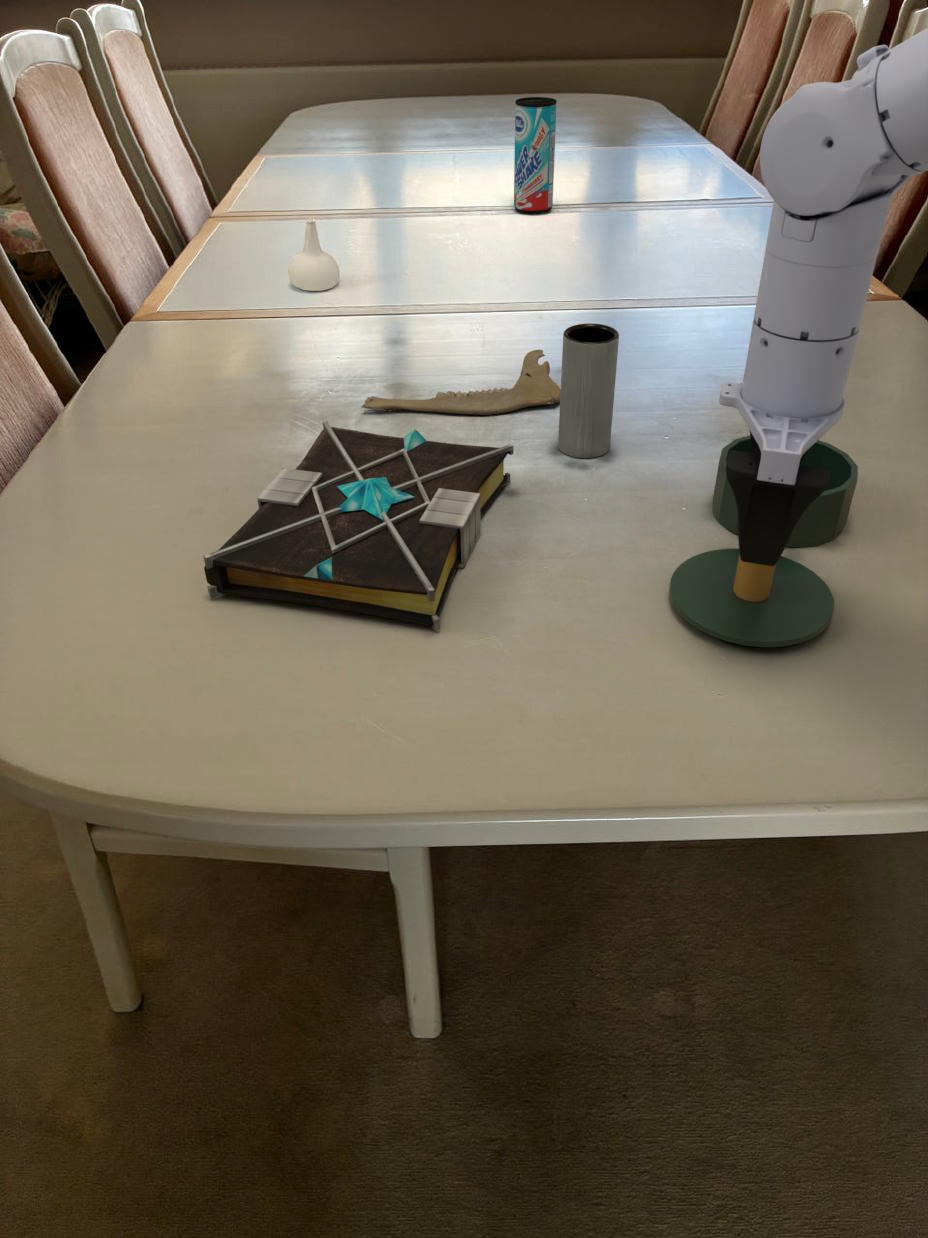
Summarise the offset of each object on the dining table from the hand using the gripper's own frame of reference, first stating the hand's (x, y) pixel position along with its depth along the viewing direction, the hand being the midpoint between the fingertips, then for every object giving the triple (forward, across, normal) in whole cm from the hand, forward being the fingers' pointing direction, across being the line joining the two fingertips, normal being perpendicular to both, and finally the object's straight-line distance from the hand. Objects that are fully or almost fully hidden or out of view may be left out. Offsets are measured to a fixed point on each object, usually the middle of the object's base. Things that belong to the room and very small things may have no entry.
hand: (763, 529), depth 62 cm
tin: (+6, -13, +1) cm, 14 cm away
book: (+6, 0, -28) cm, 29 cm away
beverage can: (+6, -94, -41) cm, 102 cm away
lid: (+5, 0, 0) cm, 5 cm away
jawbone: (+6, -28, -30) cm, 41 cm away
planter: (+6, -20, -16) cm, 26 cm away
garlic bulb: (+6, -52, -58) cm, 78 cm away
